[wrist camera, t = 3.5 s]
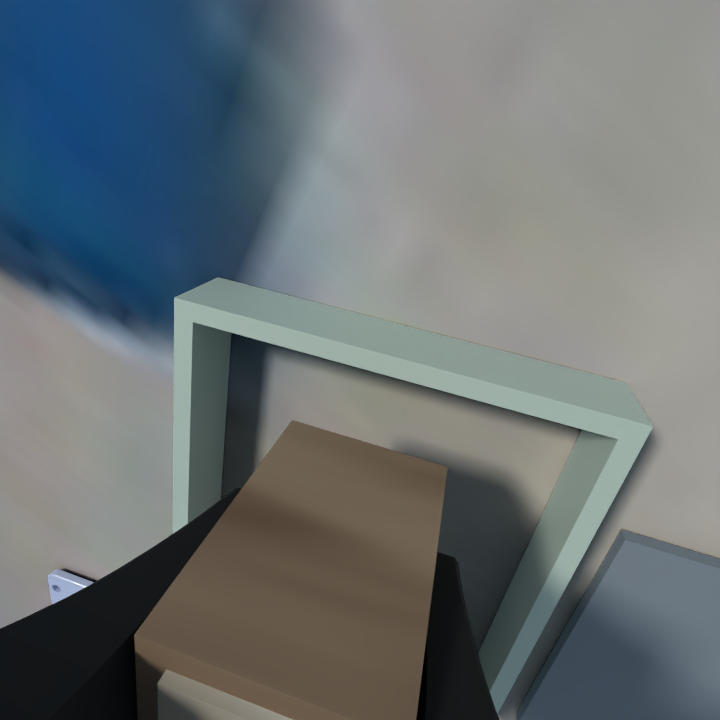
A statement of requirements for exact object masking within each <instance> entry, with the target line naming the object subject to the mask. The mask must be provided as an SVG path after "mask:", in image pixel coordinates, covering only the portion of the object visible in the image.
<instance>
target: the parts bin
mask: <svg viewBox="0 0 720 720" xmlns="http://www.w3.org/2000/svg"><path fill="white" fill-rule="evenodd" d="M231 333H234V334H238V335H242V336H245V337H249V338H253V339H256V340H260V341H263V342H267V343H271V344H274V345H278V346H282V347H285V348H289V349H292V350H296V351H300V352H303V353H307V354H311V355H314V356H318V357H321V358H325V359H329V360H332V361H336V362H340V363H343V364H347V365H350V366H354V367H358V368H361V369H365V370H369V371H372V372H376V373H379V374H383V375H387V376H390V377H394V378H398V379H401V380H405V381H408V382H412V383H416V384H419V385H423V386H427V387H430V388H434V389H437V390H441V391H445V392H448V393H452V394H456V395H459V396H463V397H466V398H470V399H474V400H477V401H481V402H485V403H488V404H492V405H495V406H499V407H503V408H506V409H510V410H514V411H517V412H521V413H524V414H528V415H532V416H535V417H539V418H543V419H546V420H550V421H553V422H557V423H561V424H564V425H568V426H572V427H575V428H579V429H582V430H581V432H580V434H579V437H578V439H577V441H576V443H575V445H574V447H573V449H572V452H571V454H570V456H569V458H568V460H567V462H566V465H565V467H564V469H563V471H562V473H561V475H560V478H559V480H558V482H557V484H556V486H555V488H554V490H553V493H552V495H551V497H550V499H549V501H548V503H547V506H546V508H545V510H544V512H543V514H542V516H541V519H540V521H539V523H538V525H537V527H536V529H535V531H534V534H533V536H532V538H531V540H530V542H529V544H528V547H527V549H526V551H525V553H524V555H523V557H522V560H521V562H520V564H519V566H518V568H517V570H516V572H515V575H514V577H513V579H512V581H511V583H510V585H509V588H508V590H507V592H506V594H505V596H504V598H503V600H502V603H501V605H500V607H499V609H498V611H497V613H496V616H495V618H494V620H493V622H492V624H491V626H490V629H489V631H488V633H487V635H486V637H485V639H484V641H483V644H482V646H481V648H480V650H479V652H478V656H479V659H480V663H481V666H482V669H483V673H484V676H485V679H486V682H487V685H488V688H489V691H490V694H491V697H492V700H493V703H494V706H495V709H496V712H497V714H498V712H499V710H500V709H501V707H502V705H503V703H504V701H505V699H506V697H507V696H508V694H509V692H510V690H511V688H512V686H513V685H514V683H515V681H516V679H517V677H518V675H519V673H520V672H521V670H522V668H523V666H524V664H525V662H526V661H527V659H528V657H529V655H530V653H531V651H532V649H533V648H534V646H535V644H536V642H537V640H538V638H539V637H540V635H541V633H542V631H543V629H544V627H545V625H546V624H547V622H548V620H549V618H550V616H551V614H552V613H553V611H554V609H555V607H556V605H557V603H558V601H559V600H560V598H561V596H562V594H563V592H564V590H565V589H566V587H567V585H568V583H569V581H570V579H571V577H572V576H573V574H574V572H575V570H576V568H577V566H578V565H579V563H580V561H581V559H582V557H583V555H584V553H585V552H586V550H587V548H588V546H589V544H590V542H591V541H592V539H593V537H594V535H595V533H596V531H597V529H598V528H599V526H600V524H601V522H602V520H603V518H604V517H605V515H606V513H607V511H608V509H609V507H610V505H611V504H612V502H613V500H614V498H615V496H616V494H617V493H618V491H619V489H620V487H621V485H622V483H623V482H624V480H625V478H626V476H627V474H628V472H629V470H630V469H631V467H632V465H633V463H634V461H635V459H636V458H637V456H638V454H639V452H640V450H641V448H642V446H643V445H644V443H645V441H646V439H647V437H648V435H649V434H650V432H651V430H652V428H653V425H652V424H651V422H650V420H649V419H648V417H647V416H646V414H645V412H644V411H643V409H642V407H641V406H640V404H639V402H638V401H637V399H636V397H635V396H634V394H633V392H632V391H631V389H630V387H629V386H628V384H627V383H625V382H621V381H617V380H613V379H609V378H606V377H602V376H598V375H594V374H590V373H586V372H582V371H579V370H575V369H571V368H567V367H563V366H559V365H555V364H551V363H548V362H544V361H540V360H536V359H532V358H528V357H524V356H521V355H517V354H513V353H509V352H505V351H501V350H497V349H493V348H490V347H486V346H482V345H478V344H474V343H470V342H466V341H463V340H459V339H455V338H451V337H447V336H443V335H439V334H435V333H432V332H428V331H424V330H420V329H416V328H412V327H408V326H405V325H401V324H397V323H393V322H389V321H385V320H381V319H377V318H374V317H370V316H366V315H362V314H358V313H354V312H350V311H347V310H343V309H339V308H335V307H331V306H327V305H323V304H320V303H316V302H312V301H308V300H304V299H300V298H296V297H292V296H289V295H285V294H281V293H277V292H273V291H269V290H265V289H262V288H258V287H254V286H250V285H246V284H242V283H238V282H234V281H231V280H227V279H223V278H219V277H218V278H216V279H214V280H211V281H209V282H207V283H205V284H203V285H201V286H198V287H196V288H194V289H192V290H190V291H188V292H185V293H183V294H181V295H179V296H177V297H175V298H174V425H173V533H175V532H176V531H178V530H179V529H181V528H182V527H184V526H185V525H186V524H188V523H189V522H191V521H192V520H193V519H195V518H196V517H198V516H199V515H200V514H202V513H203V512H205V511H206V510H207V509H209V508H210V507H211V506H213V505H214V504H215V503H217V502H218V501H219V500H221V487H222V471H223V456H224V440H225V425H226V409H227V394H228V378H229V363H230V347H231Z"/></svg>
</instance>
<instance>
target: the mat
mask: <svg viewBox="0 0 720 720" xmlns="http://www.w3.org/2000/svg"><path fill="white" fill-rule="evenodd" d="M517 720H720V559H719V558H715V557H712V556H709V555H706V554H702V553H699V552H696V551H692V550H689V549H686V548H682V547H679V546H676V545H672V544H669V543H666V542H662V541H659V540H656V539H653V538H649V537H646V536H643V535H639V534H636V533H633V532H629V531H626V530H623V529H621V531H620V532H619V534H618V536H617V538H616V539H615V541H614V543H613V545H612V546H611V548H610V550H609V552H608V553H607V555H606V557H605V559H604V560H603V562H602V564H601V566H600V567H599V569H598V571H597V573H596V574H595V576H594V578H593V580H592V581H591V583H590V585H589V587H588V588H587V590H586V592H585V594H584V595H583V597H582V599H581V601H580V602H579V604H578V606H577V608H576V609H575V611H574V613H573V615H572V616H571V618H570V620H569V622H568V623H567V625H566V627H565V629H564V630H563V632H562V634H561V636H560V637H559V639H558V641H557V643H556V644H555V646H554V648H553V650H552V651H551V653H550V655H549V657H548V658H547V660H546V662H545V664H544V665H543V667H542V669H541V671H540V672H539V674H538V676H537V678H536V679H535V681H534V683H533V685H532V686H531V688H530V690H529V692H528V693H527V695H526V697H525V699H524V700H523V702H522V704H521V706H520V707H519V709H518V711H517Z"/></svg>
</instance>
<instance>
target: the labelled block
mask: <svg viewBox="0 0 720 720" xmlns="http://www.w3.org/2000/svg"><path fill="white" fill-rule="evenodd" d="M447 469H448V467H447V466H443V465H440V464H437V463H433V462H430V461H427V460H423V459H420V458H417V457H413V456H410V455H407V454H403V453H400V452H397V451H393V450H390V449H387V448H383V447H380V446H377V445H373V444H370V443H367V442H363V441H360V440H357V439H353V438H350V437H347V436H343V435H340V434H337V433H333V432H330V431H327V430H323V429H320V428H317V427H313V426H310V425H307V424H303V423H300V422H297V421H293V420H292V421H291V422H290V424H289V425H288V427H287V428H286V429H285V431H284V432H283V433H282V435H281V436H280V437H279V439H278V440H277V441H276V443H275V444H274V446H273V447H272V448H271V450H270V451H269V452H268V454H267V455H266V456H265V458H264V459H263V461H262V462H261V463H260V465H259V466H258V467H257V469H256V470H255V471H254V473H253V474H252V475H251V477H250V478H249V480H248V481H247V482H246V484H245V485H244V486H243V488H242V489H241V490H240V492H239V493H238V494H237V496H236V497H235V499H234V500H233V501H232V503H231V504H230V505H229V507H228V508H227V509H226V511H225V512H224V514H223V515H222V516H221V518H220V519H219V520H218V522H217V523H216V524H215V526H214V527H213V528H212V530H211V531H210V533H209V534H208V535H207V537H206V538H205V539H204V541H203V542H202V543H201V545H200V546H199V547H198V549H197V550H196V552H195V553H194V554H193V556H192V557H191V558H190V560H189V561H188V562H187V564H186V565H185V566H184V568H183V569H182V571H181V572H180V573H179V575H178V576H177V577H176V579H175V580H174V581H173V583H172V584H171V586H170V587H169V588H168V590H167V591H166V592H165V594H164V595H163V596H162V598H161V599H160V600H159V602H158V603H157V605H156V606H155V607H154V609H153V610H152V611H151V613H150V614H149V615H148V617H147V618H146V619H145V621H144V622H143V624H142V625H141V626H140V628H139V629H138V630H137V632H136V633H135V634H134V641H135V666H136V691H137V716H138V720H416V717H417V709H418V701H419V693H420V685H421V677H422V669H423V661H424V653H425V645H426V637H427V629H428V621H429V613H430V605H431V597H432V589H433V581H434V573H435V565H436V557H437V549H438V541H439V533H440V525H441V517H442V509H443V501H444V493H445V485H446V477H447Z"/></svg>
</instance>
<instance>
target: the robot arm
mask: <svg viewBox="0 0 720 720" xmlns="http://www.w3.org/2000/svg"><path fill="white" fill-rule="evenodd" d="M240 490H241V488H236V489H234V490H233V491H231V492H230V493H229V494H227V495H226V496H225V497H223V498H222V499H221V500H219V501H218V502H217V503H215V504H214V505H213V506H211V507H210V508H209V509H207V510H206V511H205V512H203V513H202V514H200V515H199V516H198V517H196V518H195V519H193V520H192V521H191V522H189V523H188V524H186V525H185V526H184V527H182V528H181V529H179V530H178V531H176V532H175V533H173V534H172V535H170V536H169V537H168V538H166V539H165V540H163V541H162V542H160V543H159V544H157V545H156V546H154V547H153V548H151V549H149V550H148V551H146V552H145V553H143V554H141V555H140V556H138V557H136V558H135V559H133V560H132V561H130V562H128V563H127V564H125V565H124V566H122V567H120V568H119V569H117V570H115V571H114V572H112V573H110V574H108V575H107V576H105V577H103V578H101V579H100V580H98V581H96V582H92V581H89V580H86V579H84V578H81V577H78V576H76V575H73V574H70V573H68V572H65V571H62V570H59V569H56V570H54V571H53V572H52V573H51V574H50V575H49V576H48V583H49V589H50V595H51V601H52V605H50V606H48V607H46V608H44V609H42V610H40V611H38V612H35V613H33V614H31V615H29V616H27V617H25V618H23V619H21V620H18V621H16V622H14V623H12V624H10V625H7V626H5V627H3V628H1V629H0V720H138V716H137V691H136V666H135V641H134V634H135V633H136V632H137V630H138V629H139V628H140V626H141V625H142V624H143V622H144V621H145V619H146V618H147V617H148V615H149V614H150V613H151V611H152V610H153V609H154V607H155V606H156V605H157V603H158V602H159V600H160V599H161V598H162V596H163V595H164V594H165V592H166V591H167V590H168V588H169V587H170V586H171V584H172V583H173V581H174V580H175V579H176V577H177V576H178V575H179V573H180V572H181V571H182V569H183V568H184V566H185V565H186V564H187V562H188V561H189V560H190V558H191V557H192V556H193V554H194V553H195V552H196V550H197V549H198V547H199V546H200V545H201V543H202V542H203V541H204V539H205V538H206V537H207V535H208V534H209V533H210V531H211V530H212V528H213V527H214V526H215V524H216V523H217V522H218V520H219V519H220V518H221V516H222V515H223V514H224V512H225V511H226V509H227V508H228V507H229V505H230V504H231V503H232V501H233V500H234V499H235V497H236V496H237V494H238V493H239V492H240ZM416 720H499V718H498V715H497V712H496V709H495V706H494V703H493V700H492V697H491V694H490V691H489V688H488V685H487V682H486V679H485V676H484V673H483V669H482V666H481V663H480V659H479V656H478V652H477V649H476V645H475V641H474V638H473V634H472V631H471V627H470V623H469V619H468V614H467V610H466V605H465V601H464V596H463V591H462V586H461V580H460V574H459V567H458V562H457V561H456V559H455V558H454V557H451V556H448V555H445V554H442V553H439V552H437V557H436V565H435V573H434V581H433V589H432V597H431V605H430V613H429V621H428V629H427V637H426V645H425V653H424V661H423V669H422V677H421V685H420V693H419V701H418V709H417V717H416Z"/></svg>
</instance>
